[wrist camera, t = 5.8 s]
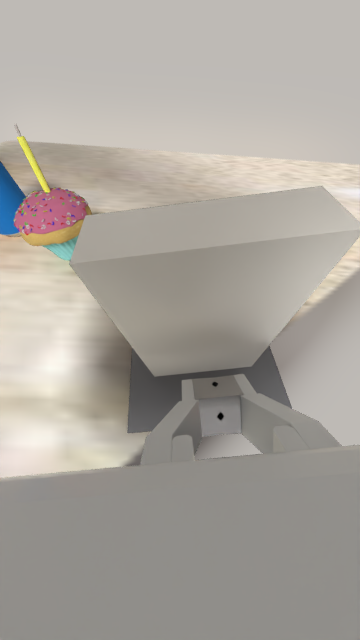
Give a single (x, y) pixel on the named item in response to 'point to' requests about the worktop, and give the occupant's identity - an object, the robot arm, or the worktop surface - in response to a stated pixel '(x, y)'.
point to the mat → (166, 391)
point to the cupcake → (50, 213)
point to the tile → (211, 273)
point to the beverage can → (9, 202)
